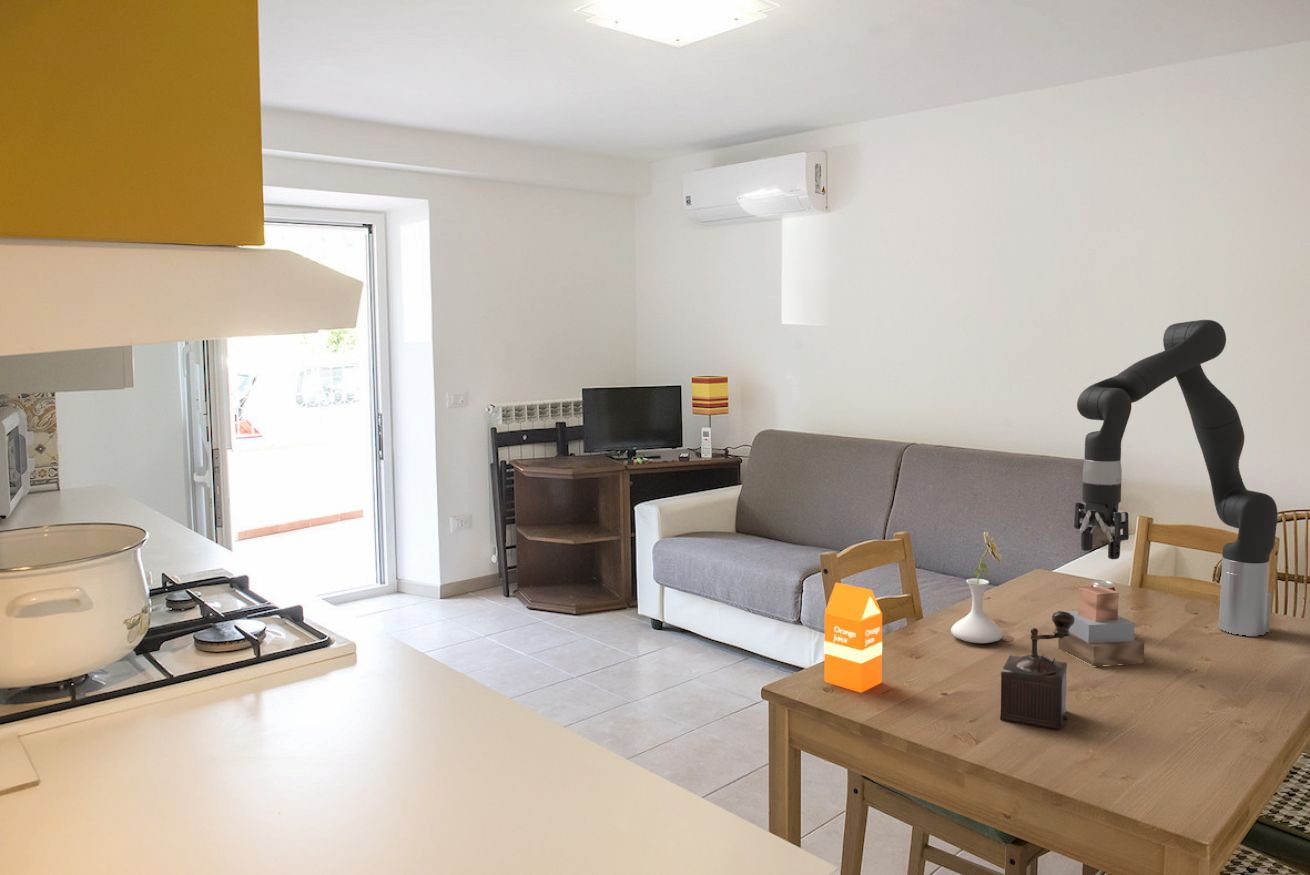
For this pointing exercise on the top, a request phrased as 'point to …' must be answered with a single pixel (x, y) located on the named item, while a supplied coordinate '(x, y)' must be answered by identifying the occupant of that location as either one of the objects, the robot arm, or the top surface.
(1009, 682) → the coffee grinder
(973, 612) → the flower in vase
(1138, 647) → the walnut base block
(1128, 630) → the grey top block
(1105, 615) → the terracotta block
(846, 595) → the orange juice
